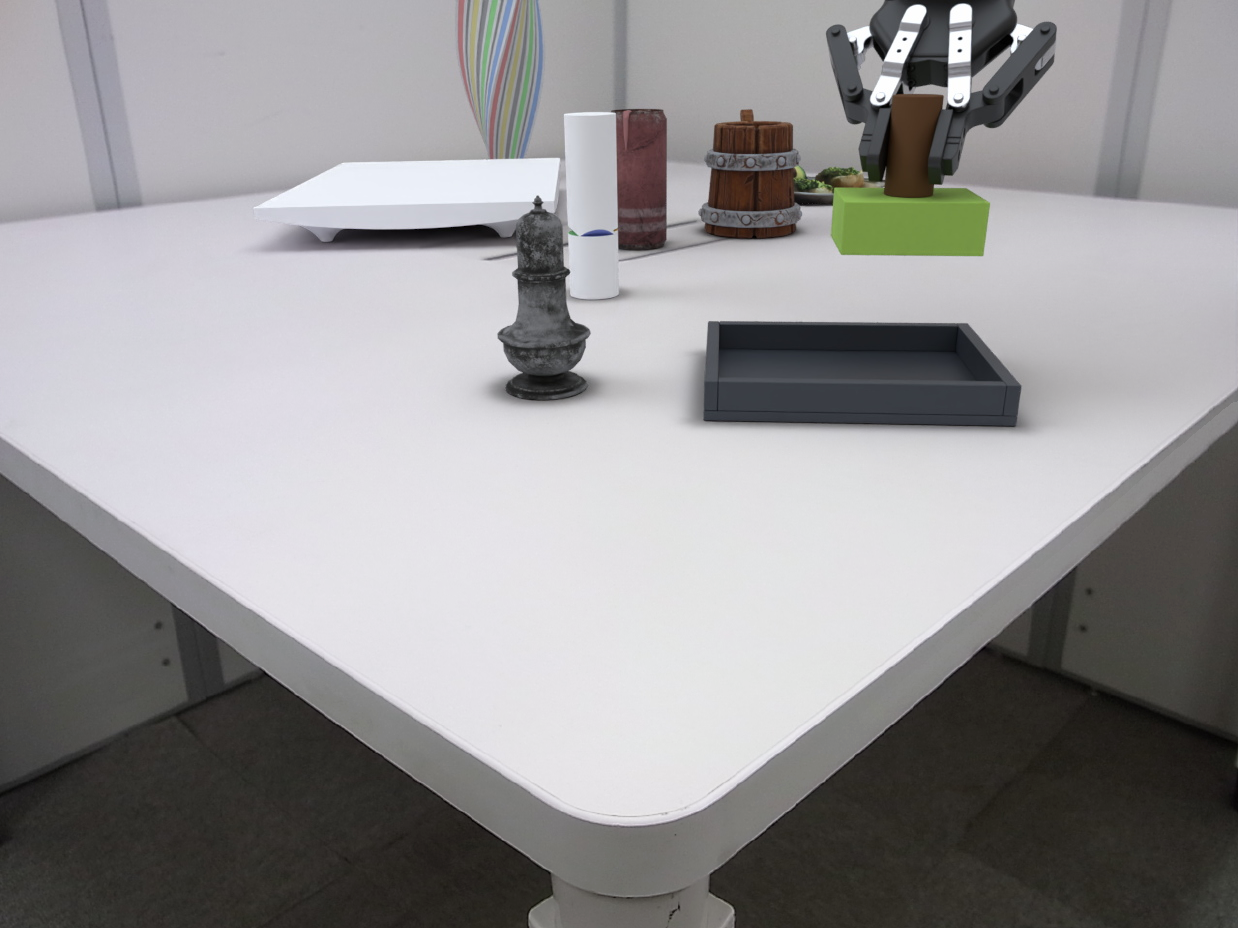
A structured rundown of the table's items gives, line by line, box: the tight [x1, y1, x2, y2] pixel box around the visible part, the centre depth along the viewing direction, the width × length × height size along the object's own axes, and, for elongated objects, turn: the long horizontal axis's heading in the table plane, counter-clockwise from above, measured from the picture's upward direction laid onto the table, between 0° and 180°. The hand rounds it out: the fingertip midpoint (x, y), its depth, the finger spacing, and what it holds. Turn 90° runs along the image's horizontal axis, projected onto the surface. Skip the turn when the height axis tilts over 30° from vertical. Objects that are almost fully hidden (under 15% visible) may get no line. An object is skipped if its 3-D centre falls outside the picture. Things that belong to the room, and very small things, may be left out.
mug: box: [697, 108, 803, 239], centre depth 116 cm, size 12×14×15 cm
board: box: [252, 157, 562, 243], centre depth 130 cm, size 45×32×5 cm
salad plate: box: [793, 164, 885, 206], centre depth 141 cm, size 19×18×5 cm
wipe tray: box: [703, 320, 1022, 427], centre depth 64 cm, size 18×14×2 cm
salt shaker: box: [497, 195, 592, 401], centre depth 63 cm, size 6×6×12 cm
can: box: [610, 108, 668, 251], centre depth 107 cm, size 6×6×14 cm
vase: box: [454, 0, 546, 159], centre depth 160 cm, size 14×14×30 cm
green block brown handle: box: [830, 93, 991, 257], centre depth 59 cm, size 8×6×8 cm
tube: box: [563, 111, 620, 300], centre depth 86 cm, size 4×4×15 cm
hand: (904, 173), depth 57 cm, fingers closed on green block brown handle, 3 cm apart
